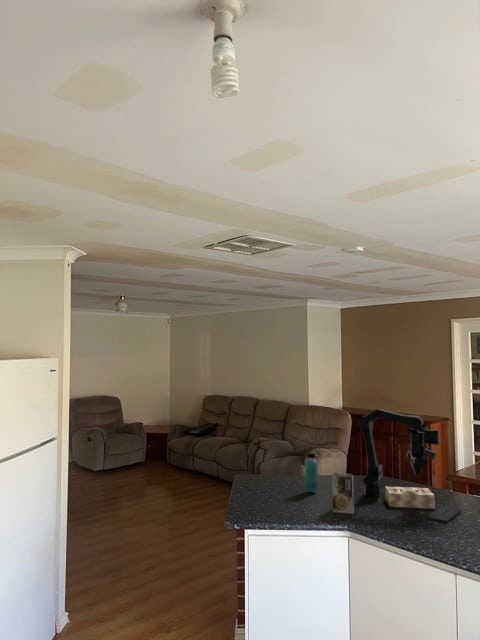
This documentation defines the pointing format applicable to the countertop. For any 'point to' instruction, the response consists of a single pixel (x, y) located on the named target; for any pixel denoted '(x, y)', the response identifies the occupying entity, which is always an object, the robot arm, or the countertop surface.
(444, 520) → the smart home device
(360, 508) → the countertop surface
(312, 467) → the beverage bottle
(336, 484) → the coffee box
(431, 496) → the birch block
